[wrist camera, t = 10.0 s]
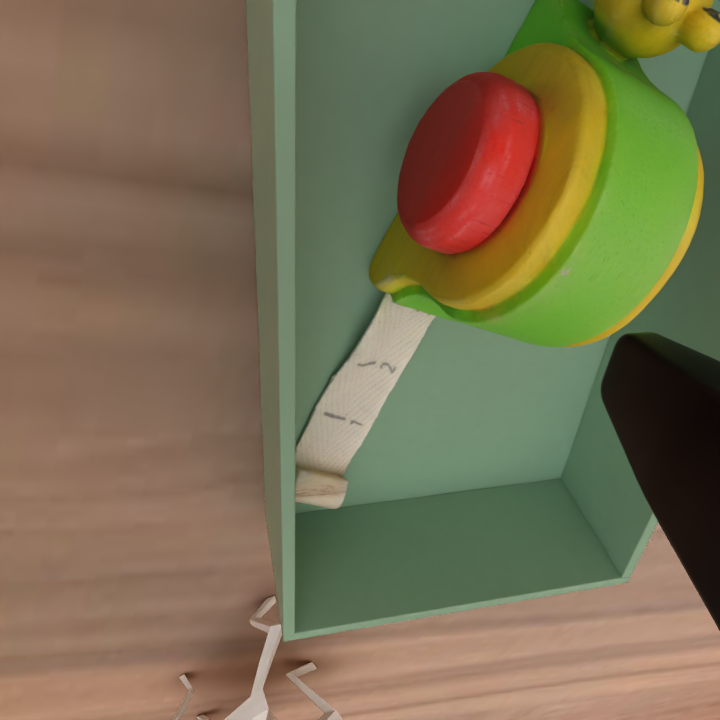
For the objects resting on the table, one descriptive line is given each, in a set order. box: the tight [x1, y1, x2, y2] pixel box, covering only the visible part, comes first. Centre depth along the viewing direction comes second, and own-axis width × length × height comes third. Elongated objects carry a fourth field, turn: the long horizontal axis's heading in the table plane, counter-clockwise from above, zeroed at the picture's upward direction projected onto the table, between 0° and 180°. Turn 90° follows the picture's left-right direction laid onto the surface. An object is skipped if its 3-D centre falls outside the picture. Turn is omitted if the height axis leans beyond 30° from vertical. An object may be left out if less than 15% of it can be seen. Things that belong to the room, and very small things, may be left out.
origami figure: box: [172, 596, 342, 720], centre depth 30 cm, size 12×8×5 cm
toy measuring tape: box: [295, 0, 720, 509], centre depth 18 cm, size 6×19×7 cm, turn 152°
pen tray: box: [246, 0, 720, 642], centre depth 19 cm, size 22×13×6 cm, turn 176°
